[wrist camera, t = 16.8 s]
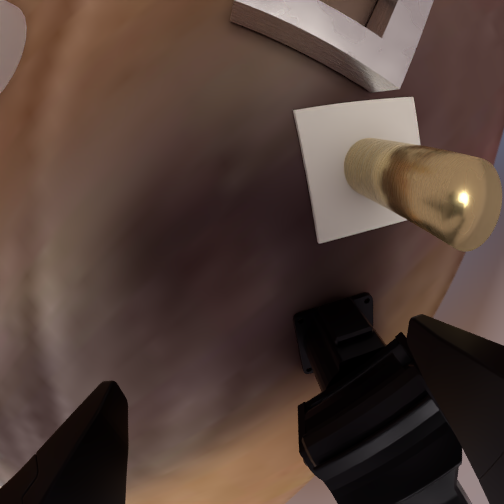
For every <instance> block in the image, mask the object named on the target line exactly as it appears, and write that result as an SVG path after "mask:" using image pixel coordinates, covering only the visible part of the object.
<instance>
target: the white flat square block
mask: <svg viewBox="0 0 504 504" xmlns="http://www.w3.org/2000/svg"><path fill="white" fill-rule="evenodd" d="M293 114H294V119H295V124H296V128H297V133H298V138H299V142H300V147H301V152H302V157H303V162H304V168H305V173H306V178H307V184H308V189H309V195H310V200H311V206H312V212H313V218H314V224H315V230H316V237H317V242H318V243H319V244H320V243H324V242H328V241H332V240H335V239H339V238H343V237H347V236H350V235H354V234H358V233H361V232H365V231H369V230H373V229H376V228H380V227H384V226H387V225H391V224H395V223H398V222H402V221H406V220H407V219H405V218H403V217H401V216H400V215H398V214H396V213H394V212H392V211H391V210H389V209H387V208H385V207H383V206H381V205H380V204H378V203H376V202H374V201H372V200H370V199H368V198H366V197H364V196H363V195H361V194H359V193H357V192H355V191H354V190H353V189H352V188H351V187H350V186H349V184H348V182H347V180H346V178H345V174H344V161H345V157H346V155H347V152H348V151H349V149H350V148H351V147H352V145H353V144H355V143H356V142H357V141H359V140H361V139H365V138H376V139H383V140H390V141H397V142H403V143H409V144H415V145H420V139H419V131H418V124H417V117H416V111H415V104H414V99H413V97H403V98H388V99H376V100H365V101H356V102H347V103H339V104H331V105H324V106H317V107H311V108H305V109H299V110H293Z"/></svg>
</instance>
